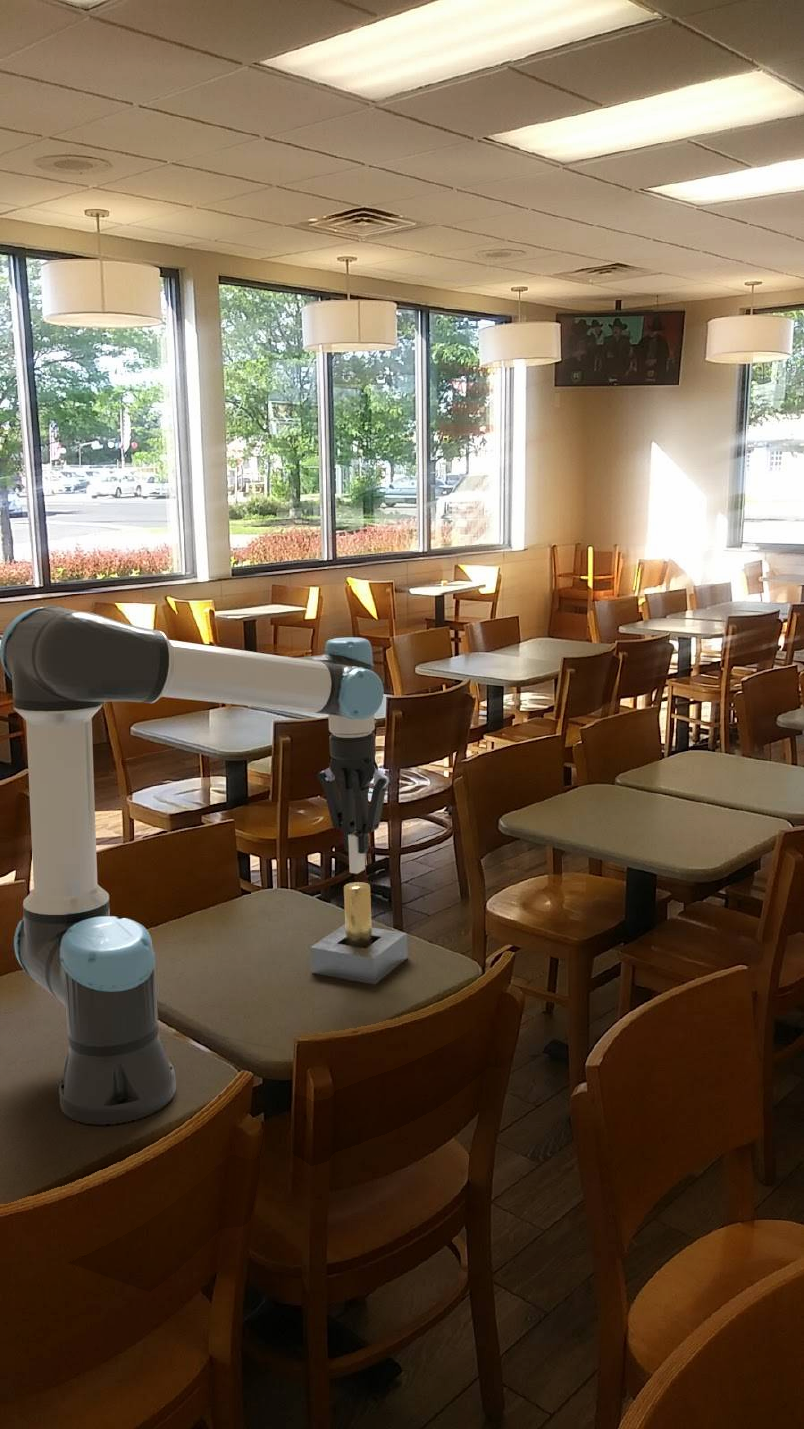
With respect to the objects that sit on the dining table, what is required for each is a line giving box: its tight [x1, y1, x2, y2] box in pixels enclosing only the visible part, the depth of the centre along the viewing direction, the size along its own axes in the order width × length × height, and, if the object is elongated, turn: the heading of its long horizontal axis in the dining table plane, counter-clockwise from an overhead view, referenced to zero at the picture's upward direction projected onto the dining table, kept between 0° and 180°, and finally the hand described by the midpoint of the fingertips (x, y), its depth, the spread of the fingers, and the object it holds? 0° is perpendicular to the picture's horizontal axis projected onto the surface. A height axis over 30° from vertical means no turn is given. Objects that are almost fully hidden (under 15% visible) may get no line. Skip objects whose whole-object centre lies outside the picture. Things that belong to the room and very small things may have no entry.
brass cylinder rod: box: [343, 881, 373, 949], centre depth 193 cm, size 4×4×14 cm
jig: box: [310, 923, 408, 985], centre depth 194 cm, size 12×12×4 cm
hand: (357, 870), depth 192 cm, fingers closed
